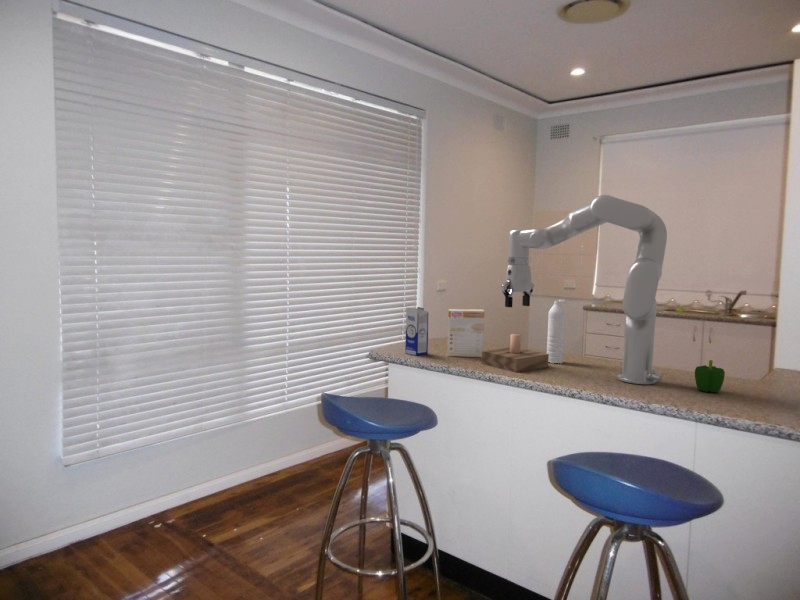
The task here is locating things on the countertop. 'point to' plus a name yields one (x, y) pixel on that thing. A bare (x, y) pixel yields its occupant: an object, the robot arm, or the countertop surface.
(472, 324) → the coffeecake box
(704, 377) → the bell pepper
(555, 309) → the water bottle
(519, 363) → the socket block
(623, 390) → the countertop surface
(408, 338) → the milk carton
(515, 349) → the peg
